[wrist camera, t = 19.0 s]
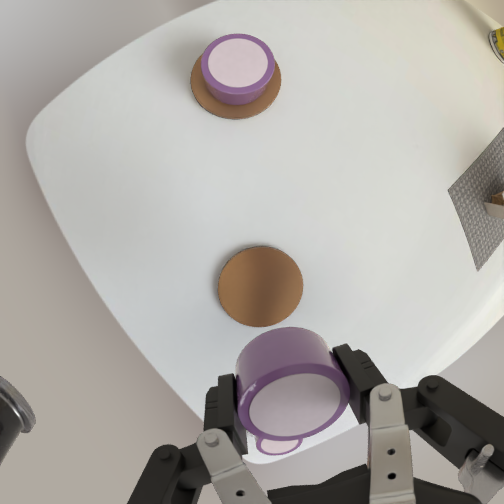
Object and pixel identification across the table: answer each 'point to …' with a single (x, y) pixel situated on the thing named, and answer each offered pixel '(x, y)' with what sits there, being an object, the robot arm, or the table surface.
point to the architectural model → (482, 201)
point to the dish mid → (289, 385)
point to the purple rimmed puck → (276, 446)
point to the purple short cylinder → (237, 68)
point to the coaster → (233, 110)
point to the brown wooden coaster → (260, 286)
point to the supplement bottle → (498, 42)
